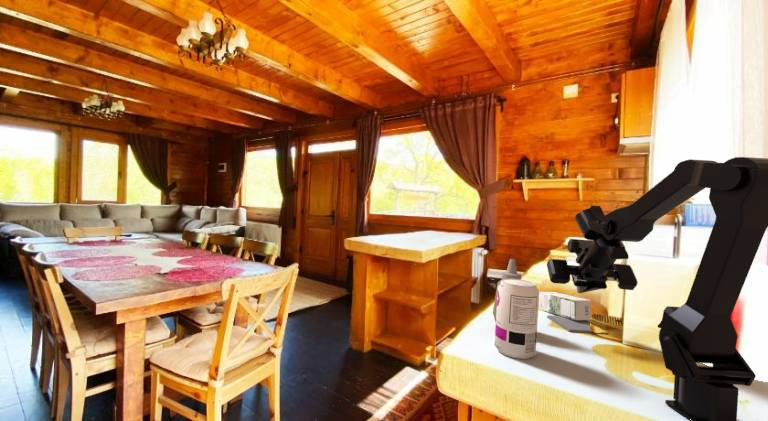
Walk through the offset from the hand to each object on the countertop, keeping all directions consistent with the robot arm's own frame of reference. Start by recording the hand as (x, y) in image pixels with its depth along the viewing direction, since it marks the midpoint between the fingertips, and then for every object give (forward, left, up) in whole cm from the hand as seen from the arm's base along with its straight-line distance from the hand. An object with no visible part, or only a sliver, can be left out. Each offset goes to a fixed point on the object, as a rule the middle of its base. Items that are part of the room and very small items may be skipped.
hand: (578, 291), depth 85 cm
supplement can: (-16, +24, -10) cm, 30 cm away
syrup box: (+4, -5, -6) cm, 9 cm away
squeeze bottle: (-2, +19, -10) cm, 22 cm away
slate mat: (+3, -2, -10) cm, 11 cm away
